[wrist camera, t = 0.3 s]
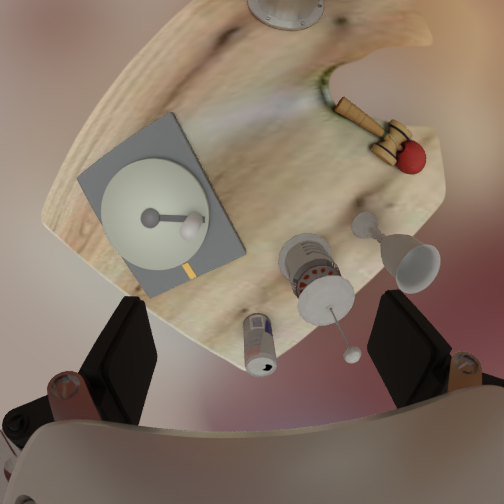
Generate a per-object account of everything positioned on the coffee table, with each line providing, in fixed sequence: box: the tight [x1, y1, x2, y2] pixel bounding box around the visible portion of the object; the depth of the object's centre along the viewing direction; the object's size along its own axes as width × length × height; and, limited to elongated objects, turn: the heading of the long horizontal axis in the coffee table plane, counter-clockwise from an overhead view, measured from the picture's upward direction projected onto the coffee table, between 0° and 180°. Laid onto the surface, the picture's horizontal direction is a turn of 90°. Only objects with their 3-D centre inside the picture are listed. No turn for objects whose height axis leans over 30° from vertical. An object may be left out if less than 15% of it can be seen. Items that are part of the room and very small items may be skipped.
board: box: [77, 112, 246, 298], centre depth 43 cm, size 26×20×2 cm
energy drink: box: [243, 314, 277, 377], centre depth 48 cm, size 5×5×12 cm
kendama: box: [335, 97, 426, 174], centre depth 38 cm, size 8×6×18 cm
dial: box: [101, 158, 210, 270], centre depth 38 cm, size 18×18×8 cm
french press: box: [278, 233, 361, 363], centre depth 37 cm, size 10×12×25 cm
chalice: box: [352, 212, 440, 294], centre depth 38 cm, size 7×7×18 cm
